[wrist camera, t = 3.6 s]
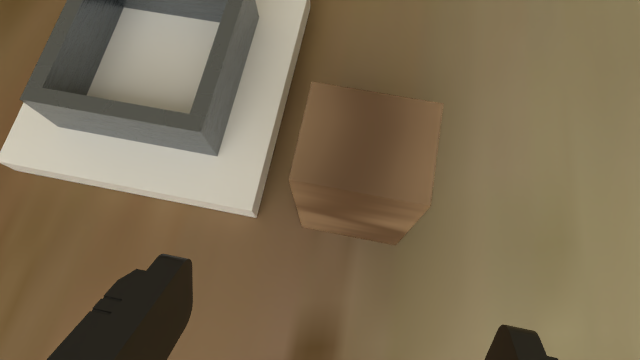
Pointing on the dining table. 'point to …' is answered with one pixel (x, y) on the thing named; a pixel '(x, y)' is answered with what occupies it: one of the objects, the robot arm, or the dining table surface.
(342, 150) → the walnut block
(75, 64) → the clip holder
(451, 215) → the dining table surface
